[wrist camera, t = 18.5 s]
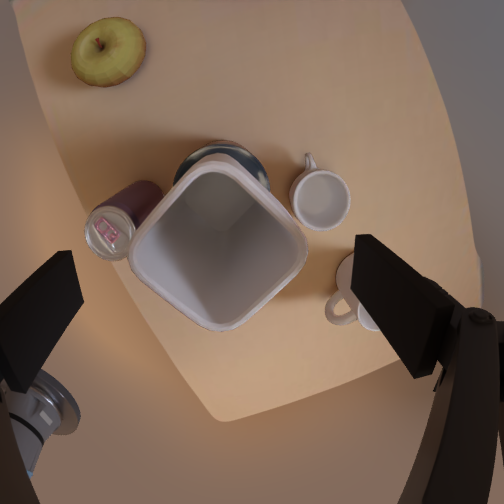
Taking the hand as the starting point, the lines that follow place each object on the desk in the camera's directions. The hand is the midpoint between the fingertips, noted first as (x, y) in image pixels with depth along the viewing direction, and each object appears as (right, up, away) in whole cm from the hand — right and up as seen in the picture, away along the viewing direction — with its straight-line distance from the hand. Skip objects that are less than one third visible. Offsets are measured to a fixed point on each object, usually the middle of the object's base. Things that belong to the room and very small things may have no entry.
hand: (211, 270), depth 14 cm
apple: (-17, +27, +21) cm, 38 cm away
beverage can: (-13, +8, +29) cm, 33 cm away
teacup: (+10, +10, +30) cm, 33 cm away
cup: (-1, +6, +15) cm, 16 cm away
